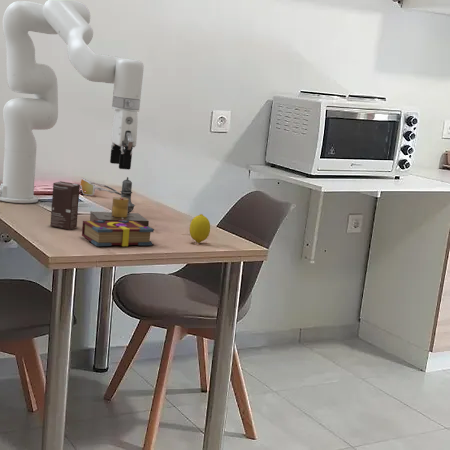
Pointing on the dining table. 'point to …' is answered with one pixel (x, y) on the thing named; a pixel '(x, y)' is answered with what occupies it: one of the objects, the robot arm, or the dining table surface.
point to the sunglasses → (91, 188)
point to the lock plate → (108, 217)
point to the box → (65, 205)
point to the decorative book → (116, 233)
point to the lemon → (199, 228)
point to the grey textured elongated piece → (127, 193)
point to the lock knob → (120, 207)
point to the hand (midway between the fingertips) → (119, 166)
